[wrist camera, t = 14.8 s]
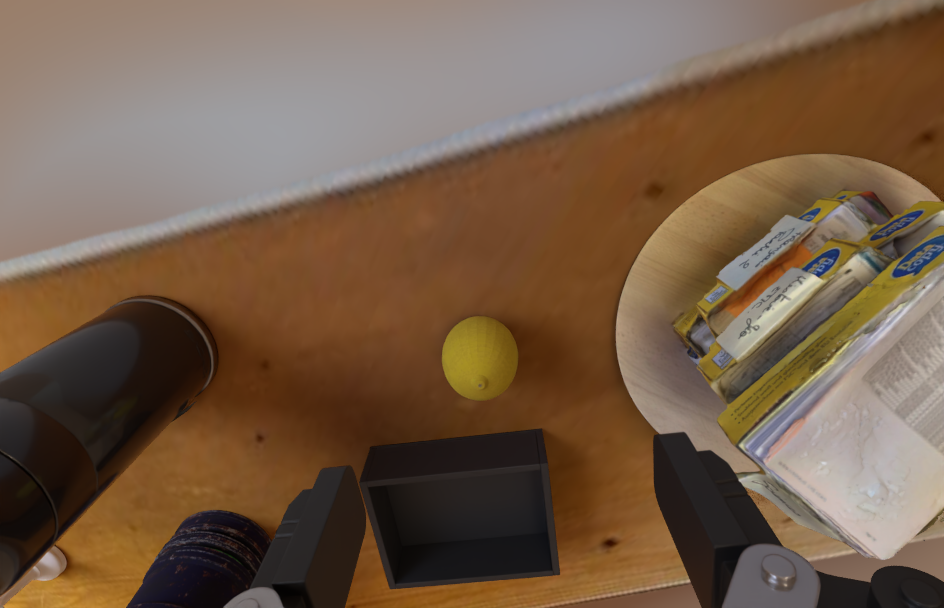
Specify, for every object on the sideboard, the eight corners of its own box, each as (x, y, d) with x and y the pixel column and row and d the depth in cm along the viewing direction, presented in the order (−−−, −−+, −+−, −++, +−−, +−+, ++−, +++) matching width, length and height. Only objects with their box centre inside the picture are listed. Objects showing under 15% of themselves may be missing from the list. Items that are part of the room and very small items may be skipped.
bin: (397, 548, 50) (389, 589, 46) (370, 446, 45) (358, 482, 41) (553, 534, 49) (560, 575, 45) (541, 428, 44) (547, 463, 40)
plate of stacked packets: (555, 282, 39) (601, 406, 24) (882, 75, 33) (1226, 62, 18) (700, 491, 47) (807, 689, 31) (988, 352, 41) (1296, 513, 25)
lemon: (486, 375, 42) (486, 434, 35) (432, 337, 41) (420, 391, 34) (529, 327, 41) (539, 379, 33) (474, 286, 39) (472, 332, 32)
